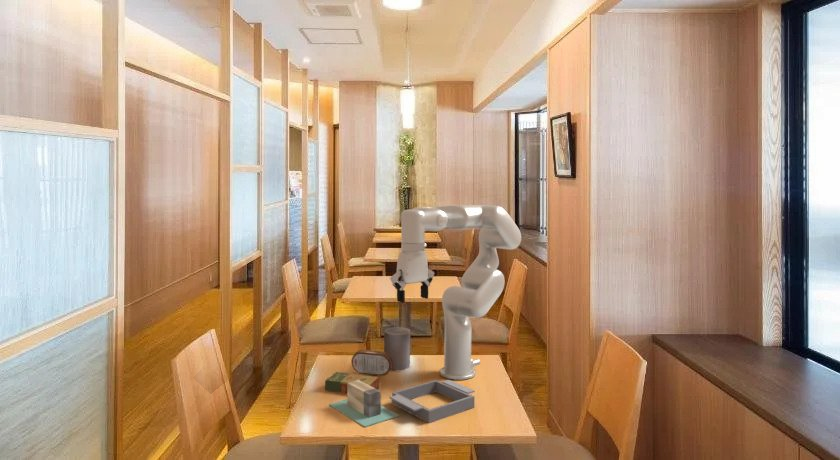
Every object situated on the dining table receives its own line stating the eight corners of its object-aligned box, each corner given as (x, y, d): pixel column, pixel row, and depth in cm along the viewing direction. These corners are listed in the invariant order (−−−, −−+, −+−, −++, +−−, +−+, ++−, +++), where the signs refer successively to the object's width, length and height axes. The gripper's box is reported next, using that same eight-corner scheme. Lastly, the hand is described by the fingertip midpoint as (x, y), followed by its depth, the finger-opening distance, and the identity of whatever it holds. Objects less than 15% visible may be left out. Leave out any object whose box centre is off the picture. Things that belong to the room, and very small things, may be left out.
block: (358, 401, 178) (358, 379, 177) (380, 414, 169) (380, 391, 168) (347, 404, 175) (347, 382, 175) (369, 417, 166) (369, 394, 166)
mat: (361, 395, 184) (361, 394, 183) (399, 416, 168) (399, 415, 168) (329, 405, 176) (329, 404, 176) (364, 427, 160) (364, 426, 160)
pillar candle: (382, 363, 216) (381, 324, 214) (407, 361, 218) (407, 322, 216) (386, 371, 206) (386, 331, 205) (412, 369, 209) (412, 329, 207)
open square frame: (442, 388, 191) (443, 377, 190) (481, 405, 177) (481, 393, 176) (384, 405, 176) (384, 394, 175) (420, 425, 162) (420, 413, 161)
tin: (393, 374, 204) (393, 351, 203) (390, 377, 201) (390, 354, 200) (353, 370, 207) (353, 348, 206) (350, 373, 204) (350, 350, 203)
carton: (369, 397, 183) (369, 384, 182) (324, 391, 188) (324, 379, 187) (379, 388, 191) (379, 376, 190) (336, 383, 196) (335, 370, 195)
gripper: (426, 244, 193) (426, 294, 194) (384, 248, 182) (384, 301, 183) (440, 246, 187) (440, 298, 188) (398, 251, 176) (398, 305, 178)
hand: (412, 299), depth 186 cm, fingers open, 9 cm apart
